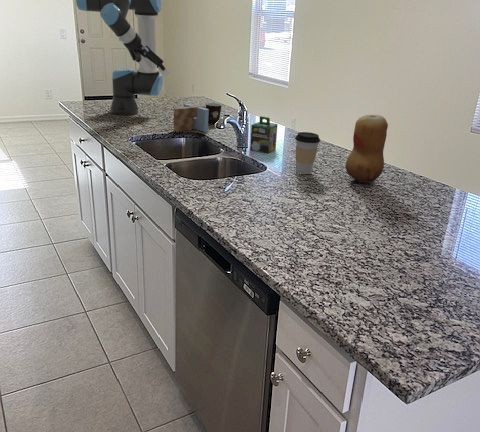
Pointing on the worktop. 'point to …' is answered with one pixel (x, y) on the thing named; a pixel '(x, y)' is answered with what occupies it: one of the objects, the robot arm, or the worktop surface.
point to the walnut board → (185, 117)
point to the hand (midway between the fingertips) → (157, 72)
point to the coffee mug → (213, 112)
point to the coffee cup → (306, 151)
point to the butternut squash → (367, 148)
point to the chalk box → (263, 136)
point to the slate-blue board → (200, 118)
